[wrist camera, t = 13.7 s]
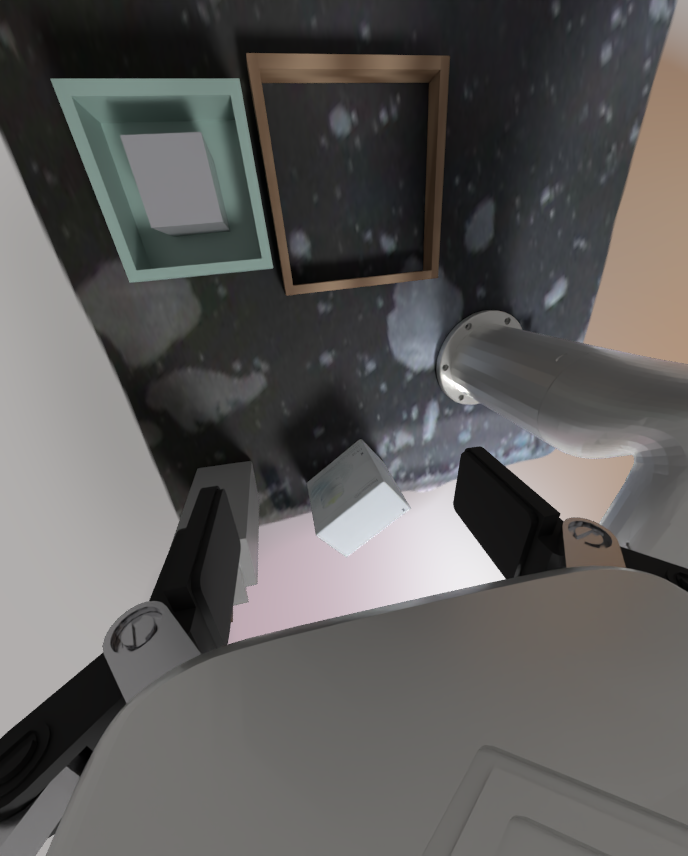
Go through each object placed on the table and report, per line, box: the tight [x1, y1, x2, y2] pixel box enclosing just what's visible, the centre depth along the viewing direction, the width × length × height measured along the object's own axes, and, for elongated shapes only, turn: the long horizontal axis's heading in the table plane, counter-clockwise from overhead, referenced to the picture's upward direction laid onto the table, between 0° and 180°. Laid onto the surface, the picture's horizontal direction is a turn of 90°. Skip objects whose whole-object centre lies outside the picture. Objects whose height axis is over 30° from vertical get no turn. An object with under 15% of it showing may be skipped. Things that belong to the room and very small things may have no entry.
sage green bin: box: [51, 79, 273, 282], centre depth 25 cm, size 12×12×5 cm
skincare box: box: [307, 439, 411, 557], centre depth 40 cm, size 10×6×10 cm, turn 129°
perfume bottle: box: [170, 461, 259, 622], centre depth 33 cm, size 7×7×18 cm
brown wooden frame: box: [246, 53, 450, 295], centre depth 28 cm, size 17×17×2 cm
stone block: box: [120, 132, 230, 237], centre depth 23 cm, size 5×5×6 cm
